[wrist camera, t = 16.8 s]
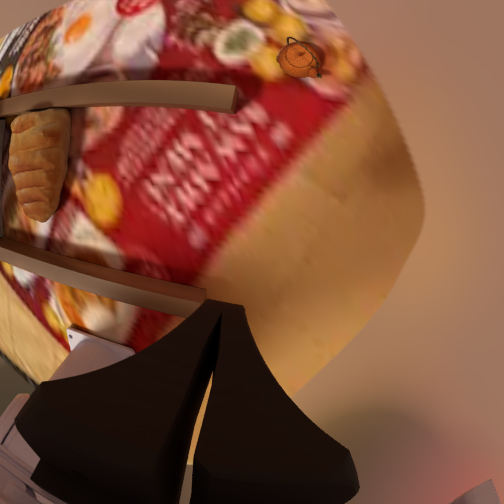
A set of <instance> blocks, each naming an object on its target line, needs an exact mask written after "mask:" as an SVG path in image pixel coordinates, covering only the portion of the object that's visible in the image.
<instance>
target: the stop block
mask: <svg viewBox="0 0 504 504" xmlns="http://www.w3.org/2000/svg"><path fill="white" fill-rule="evenodd" d="M5 122H6V120H0V237H2V236H4V233H3V221H2V203H1V168H2V151H3V139H4V130H5Z"/></svg>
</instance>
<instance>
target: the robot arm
mask: <svg viewBox="0 0 504 504" xmlns="http://www.w3.org/2000/svg"><path fill="white" fill-rule="evenodd" d="M66 331H67V336H68V340H69V344H70V348H71V352H70V354H69V355H68V356H67V357H66V359H65V360H64V361H63V362H62V364H61V365H60V366H59V367H58V369H57V370H56V371H55V373H54V374H53V375H52V377H51V378H50V379H49V380H48V381H44V382H42V383H41V384H40V385H39V386H38V387H37V388H36V389H35V391H34V392H33V393H32V394H31V396H29V395H28V394H18V395H17V396H16V397H15V398H14V400H13V401H12V402H11V403H10V405H9V406H8V407H7V409H6V410H5V411H4V413H3V414H2V416H1V417H0V504H179V501H180V495H181V490H182V484H183V480H184V474H185V469H186V464H187V459H188V454H189V450H190V445H191V440H192V436H193V431H194V426H195V423H196V419H197V416H198V413H199V410H200V407H201V404H202V401H203V398H204V395H205V392H206V389H207V387H208V384H209V381H210V378H211V375H212V372H213V377H212V386H211V390H210V394H209V398H208V402H207V406H206V410H205V414H204V418H203V422H202V426H201V430H200V434H199V438H198V442H197V445H196V449H195V453H194V458H193V474H192V493H191V498H190V504H345V503H346V502H348V501H349V500H351V499H352V498H353V497H354V496H355V495H356V494H357V493H358V491H359V488H360V486H359V480H358V475H357V472H356V468H355V465H354V462H353V459H352V457H351V454H350V451H349V450H348V449H347V448H345V447H344V446H342V445H341V444H340V443H338V442H337V441H336V440H334V439H333V438H332V437H330V436H329V435H328V434H326V433H325V432H324V431H323V430H321V429H320V428H319V427H318V426H317V425H316V424H315V423H313V422H312V421H311V420H310V419H309V418H308V417H307V416H306V415H305V414H304V413H303V412H302V411H301V410H300V409H299V408H298V406H297V405H296V404H295V403H294V402H293V401H292V400H291V399H290V398H289V396H288V395H287V394H286V393H285V391H284V390H283V389H282V387H281V386H280V385H279V383H278V382H277V380H276V379H275V377H274V376H273V375H272V373H271V371H270V370H269V368H268V366H267V365H266V363H265V361H264V359H263V357H262V355H261V354H260V352H259V350H258V347H257V345H256V343H255V341H254V338H253V336H252V333H251V331H250V328H249V325H248V322H247V318H246V314H245V308H244V307H243V306H242V305H237V304H232V303H227V302H221V301H216V300H211V299H207V300H205V301H204V302H203V303H202V304H201V305H200V306H199V307H198V308H197V309H196V310H195V311H194V312H193V313H192V314H191V315H190V316H189V317H188V318H187V319H185V320H184V321H183V322H182V323H181V324H180V325H178V326H177V327H176V328H175V329H173V330H172V331H171V332H169V333H168V334H166V335H165V336H164V337H162V338H161V339H159V340H158V341H156V342H155V343H153V344H152V345H150V346H148V347H147V348H145V349H143V350H141V351H140V352H138V353H136V354H135V351H134V350H133V349H132V348H129V347H126V346H123V345H119V344H116V343H113V342H110V341H107V340H104V339H101V338H99V337H96V336H93V335H90V334H87V333H85V332H82V331H79V330H77V329H74V328H72V327H68V328H67V330H66ZM449 504H501V503H500V500H499V497H498V495H497V492H496V489H495V487H494V485H493V482H492V480H491V479H489V480H487V481H485V482H483V483H481V484H480V485H478V486H476V487H474V488H472V489H470V490H469V491H467V492H465V493H464V494H462V495H461V496H459V497H458V498H457V499H455V500H454V501H453V502H451V503H449Z"/></svg>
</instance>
